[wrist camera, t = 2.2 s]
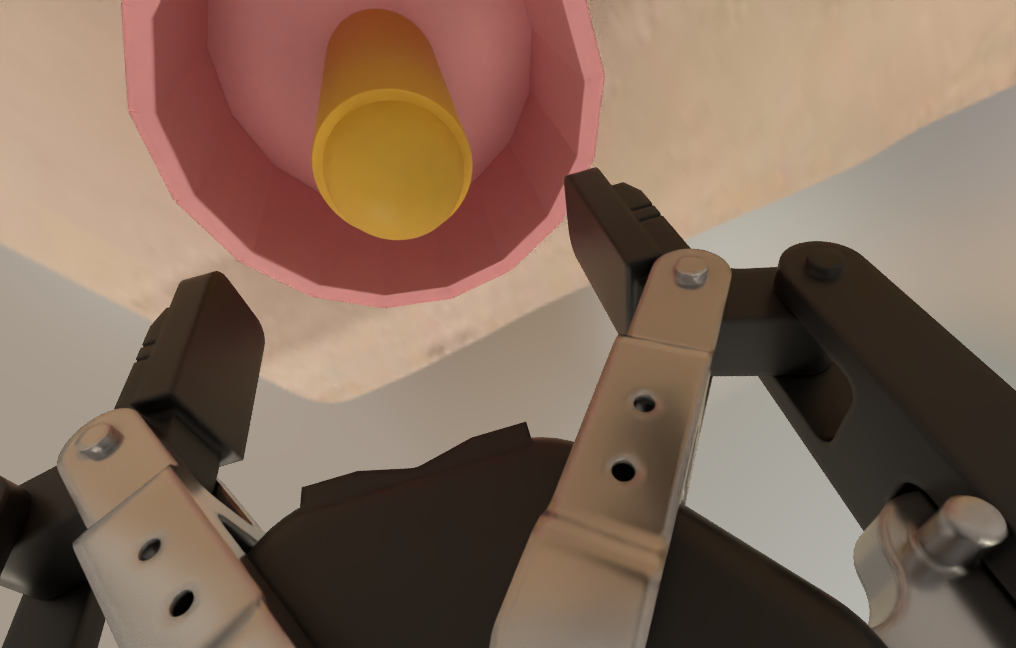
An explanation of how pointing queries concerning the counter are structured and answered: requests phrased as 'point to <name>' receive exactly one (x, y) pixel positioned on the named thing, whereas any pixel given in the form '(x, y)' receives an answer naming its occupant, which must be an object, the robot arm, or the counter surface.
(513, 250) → the pot
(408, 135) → the yellow rounded cylinder
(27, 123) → the counter surface
